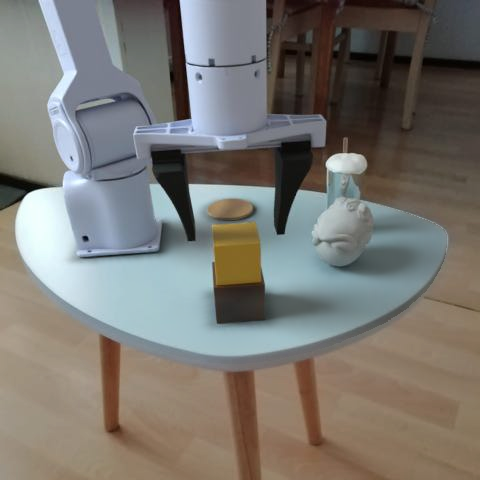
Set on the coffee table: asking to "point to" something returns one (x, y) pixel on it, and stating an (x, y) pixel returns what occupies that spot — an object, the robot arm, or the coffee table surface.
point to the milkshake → (345, 175)
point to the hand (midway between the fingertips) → (235, 233)
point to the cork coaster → (230, 209)
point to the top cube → (237, 253)
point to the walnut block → (239, 301)
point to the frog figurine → (343, 231)
